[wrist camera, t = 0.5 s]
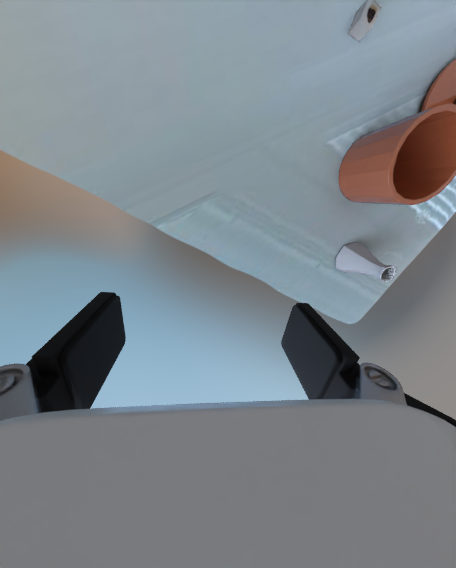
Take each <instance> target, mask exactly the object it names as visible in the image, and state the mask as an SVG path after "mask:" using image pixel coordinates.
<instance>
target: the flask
mask: <svg viewBox="0 0 456 568" xmlns="http://www.w3.org/2000/svg"><path fill="white" fill-rule="evenodd" d="M336 269H338V270H340V271H342V272H345V273H359V274H368V275H372V276H376V277H378V279H379V280H381V281H383V282H387V281H391V280H392V279H393V278H394V276H395V275H396V272H397V268H396V267H394V266H392V265H389V266H387V265H384V264H383V263H381V262H380V261H378V260H377V259H376V258H375V257H374V256H373V254H372V253H371V252H370V251H369V250H368V249H367V248H366V247H365V246H363V245H361V244H359V243H357V242H356V243H352V244H348V245H345V246H343V248H342V249H341V251H340V252H339V254H338V255H337V257H336Z"/></svg>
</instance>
